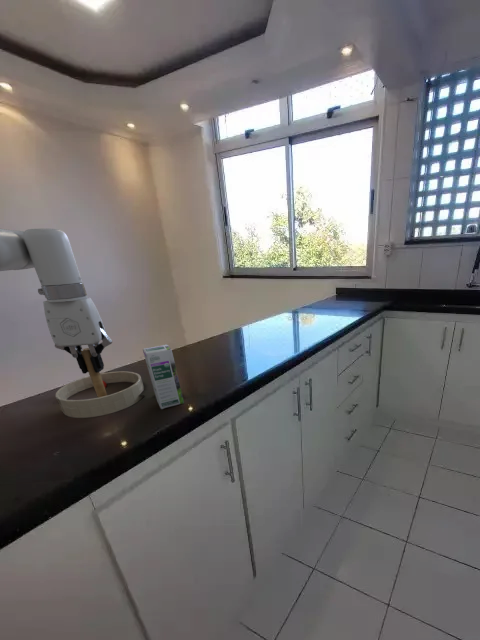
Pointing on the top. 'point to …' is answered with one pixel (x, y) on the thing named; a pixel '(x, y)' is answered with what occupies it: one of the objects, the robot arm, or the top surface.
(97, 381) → the stick
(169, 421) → the top surface
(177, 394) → the syrup box
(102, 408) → the ring
